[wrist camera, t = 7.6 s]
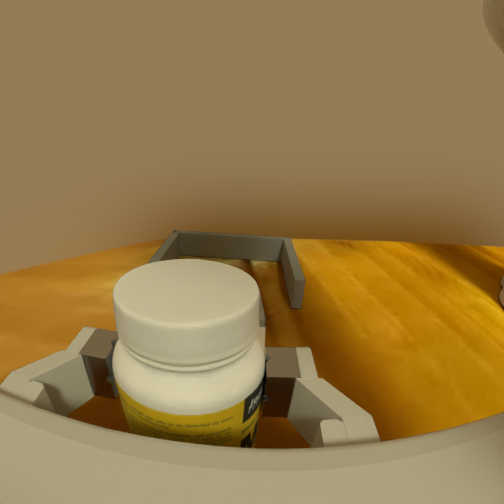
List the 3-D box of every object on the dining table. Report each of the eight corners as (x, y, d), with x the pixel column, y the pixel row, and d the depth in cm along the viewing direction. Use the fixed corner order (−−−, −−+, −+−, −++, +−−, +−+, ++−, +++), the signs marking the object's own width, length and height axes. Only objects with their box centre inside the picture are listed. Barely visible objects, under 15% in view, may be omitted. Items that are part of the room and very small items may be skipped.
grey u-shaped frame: (287, 259, 35) (290, 237, 34) (300, 308, 25) (305, 280, 24) (174, 251, 35) (174, 230, 34) (145, 297, 25) (143, 269, 24)
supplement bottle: (258, 503, 9) (293, 337, 6) (136, 500, 9) (69, 328, 6) (246, 418, 14) (260, 254, 11) (148, 416, 13) (123, 250, 10)
